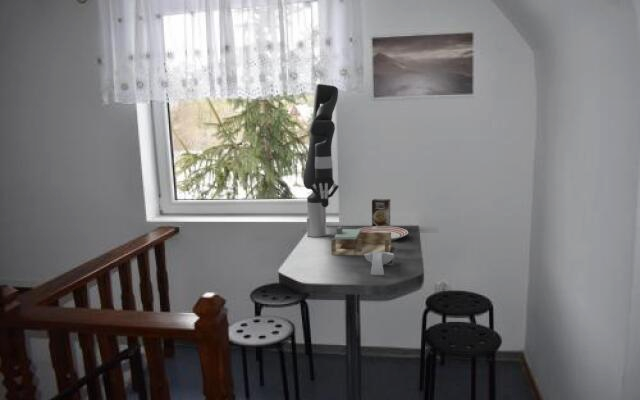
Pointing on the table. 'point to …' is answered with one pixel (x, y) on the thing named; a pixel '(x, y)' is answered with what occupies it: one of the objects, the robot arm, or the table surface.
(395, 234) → the dinner plate
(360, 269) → the table surface
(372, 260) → the spoon rest
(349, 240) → the walnut block
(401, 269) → the table surface
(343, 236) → the sliding cover
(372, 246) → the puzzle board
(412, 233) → the table surface
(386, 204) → the coffee box
